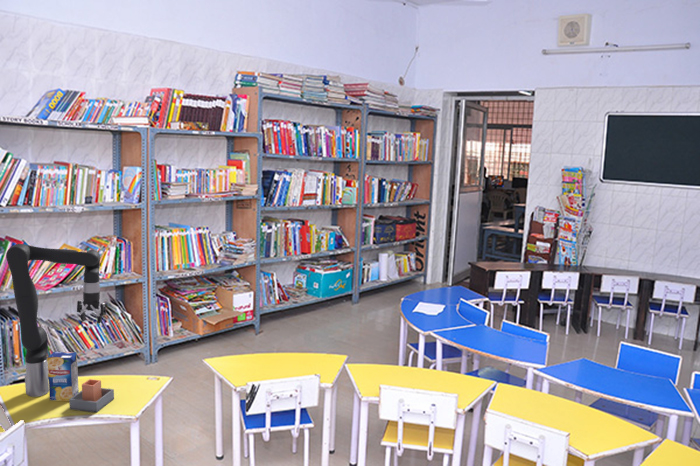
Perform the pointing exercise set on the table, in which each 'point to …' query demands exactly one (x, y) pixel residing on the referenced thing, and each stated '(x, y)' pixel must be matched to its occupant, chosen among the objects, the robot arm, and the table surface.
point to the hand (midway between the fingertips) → (91, 321)
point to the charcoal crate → (91, 406)
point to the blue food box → (62, 375)
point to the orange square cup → (91, 390)
